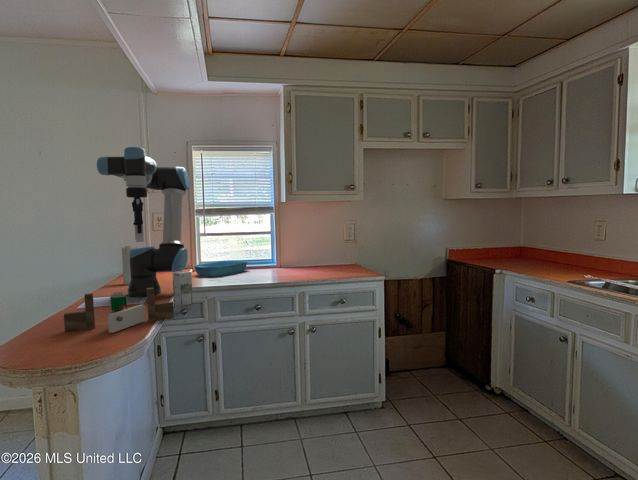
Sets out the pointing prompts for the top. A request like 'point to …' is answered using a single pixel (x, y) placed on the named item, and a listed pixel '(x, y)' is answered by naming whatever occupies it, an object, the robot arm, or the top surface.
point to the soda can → (118, 302)
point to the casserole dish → (220, 268)
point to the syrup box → (182, 288)
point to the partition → (87, 318)
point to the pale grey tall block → (126, 263)
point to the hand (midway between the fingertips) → (139, 241)
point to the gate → (126, 318)
